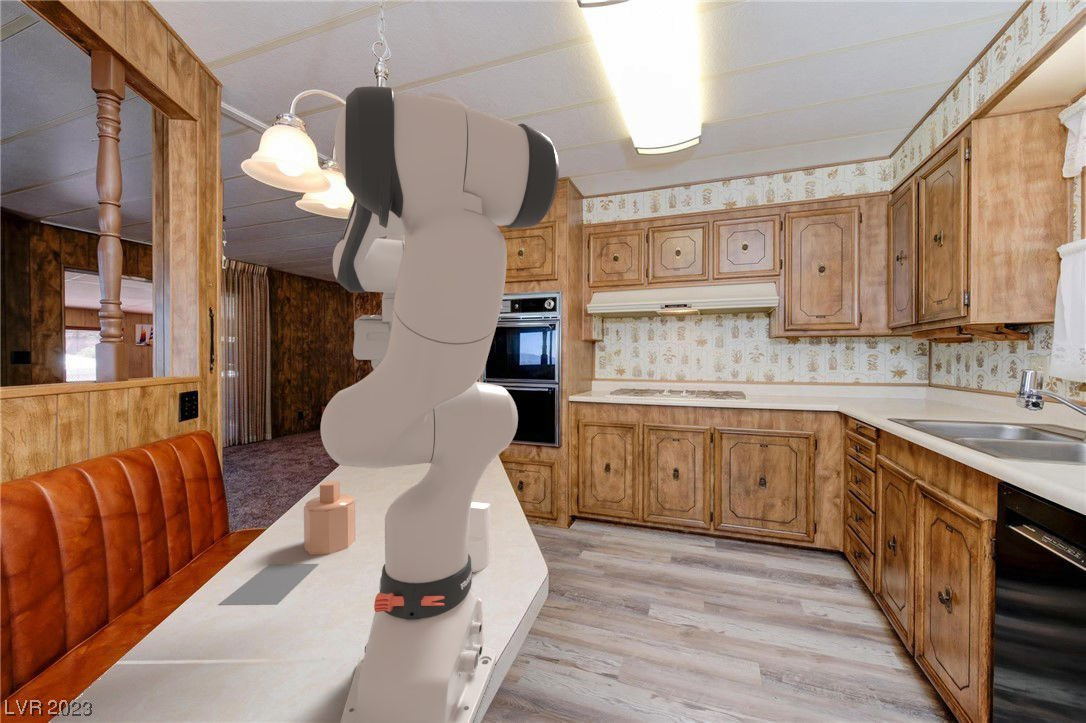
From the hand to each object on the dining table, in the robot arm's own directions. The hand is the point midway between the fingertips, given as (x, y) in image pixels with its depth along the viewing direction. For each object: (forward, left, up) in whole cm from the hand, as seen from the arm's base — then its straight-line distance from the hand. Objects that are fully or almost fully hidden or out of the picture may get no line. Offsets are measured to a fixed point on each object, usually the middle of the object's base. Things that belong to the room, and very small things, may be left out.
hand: (405, 382), depth 88 cm
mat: (-9, +22, -37) cm, 44 cm away
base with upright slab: (-1, -13, -37) cm, 40 cm away
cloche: (+7, +19, -37) cm, 42 cm away
